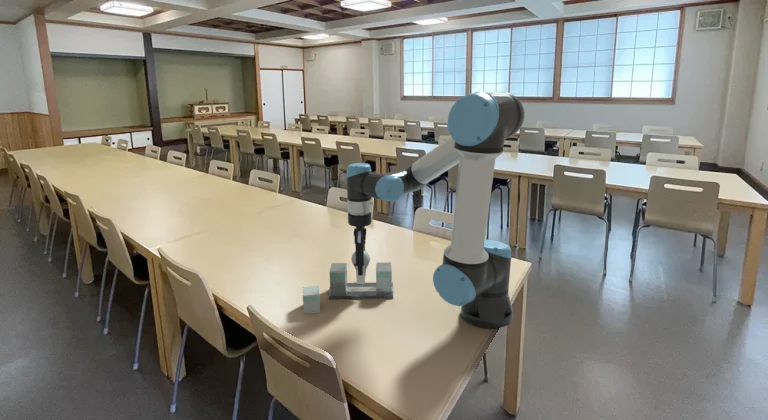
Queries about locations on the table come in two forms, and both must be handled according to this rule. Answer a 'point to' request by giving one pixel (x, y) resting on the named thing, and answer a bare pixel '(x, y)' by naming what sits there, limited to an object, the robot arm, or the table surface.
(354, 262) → the lightbulb
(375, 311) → the table surface
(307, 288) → the module
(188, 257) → the table surface
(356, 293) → the grey u-shaped piece
